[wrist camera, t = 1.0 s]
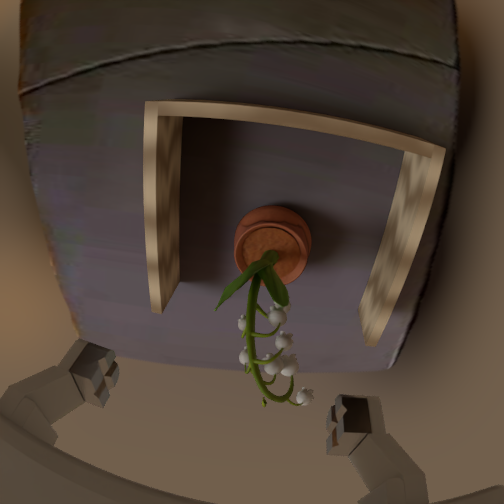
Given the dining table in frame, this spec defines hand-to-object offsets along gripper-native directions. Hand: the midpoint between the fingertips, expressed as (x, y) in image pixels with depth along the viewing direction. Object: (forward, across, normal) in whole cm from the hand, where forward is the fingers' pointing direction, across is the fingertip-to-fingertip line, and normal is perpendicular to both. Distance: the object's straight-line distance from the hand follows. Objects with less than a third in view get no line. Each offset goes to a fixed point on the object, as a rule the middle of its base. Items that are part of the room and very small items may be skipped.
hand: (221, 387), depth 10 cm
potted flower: (+32, -2, +9) cm, 33 cm away
